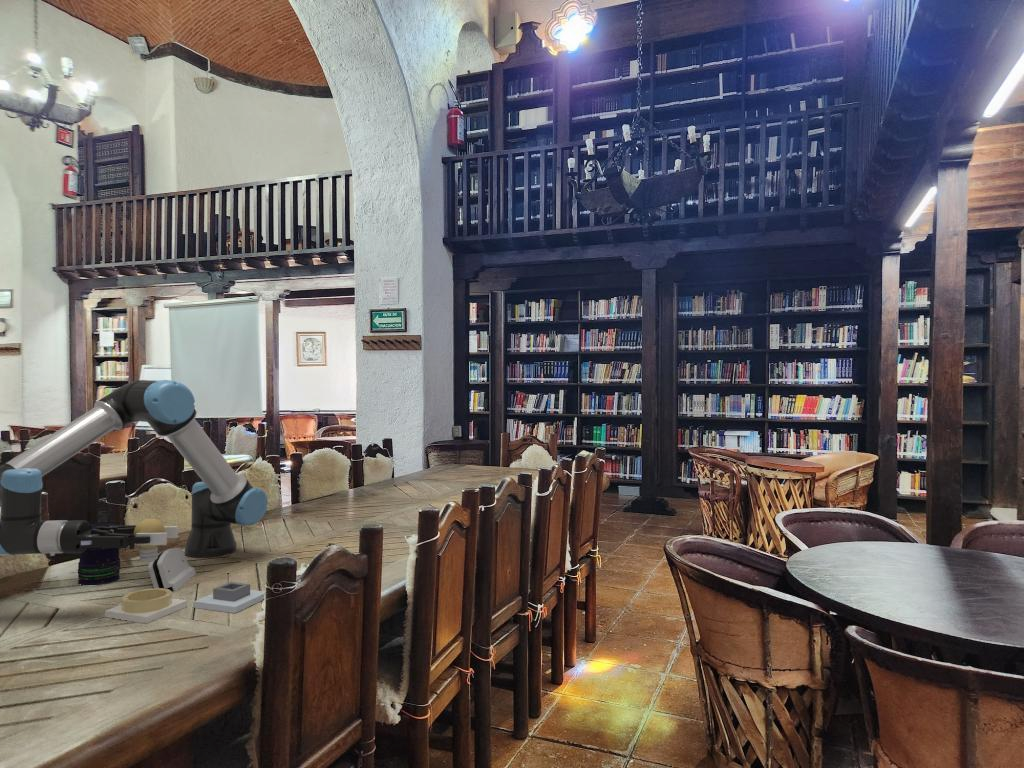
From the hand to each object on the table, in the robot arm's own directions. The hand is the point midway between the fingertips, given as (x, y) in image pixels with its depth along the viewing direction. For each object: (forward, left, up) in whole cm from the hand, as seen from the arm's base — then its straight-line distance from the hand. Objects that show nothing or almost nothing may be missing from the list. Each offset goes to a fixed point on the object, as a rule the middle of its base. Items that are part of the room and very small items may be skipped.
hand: (171, 535), depth 154 cm
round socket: (+2, -5, -18) cm, 19 cm away
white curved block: (-18, -17, -18) cm, 31 cm away
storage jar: (-13, -37, -18) cm, 43 cm away
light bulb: (+2, -5, -6) cm, 8 cm away
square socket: (-10, +9, -18) cm, 23 cm away
